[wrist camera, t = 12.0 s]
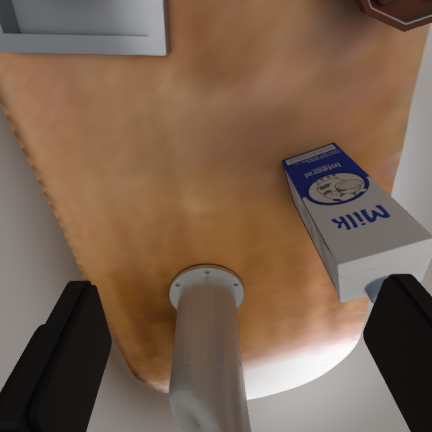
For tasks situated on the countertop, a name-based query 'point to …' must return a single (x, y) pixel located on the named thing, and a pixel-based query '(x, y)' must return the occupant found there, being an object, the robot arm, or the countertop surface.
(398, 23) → the ice cream bowl
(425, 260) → the milk carton
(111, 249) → the countertop surface
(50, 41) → the gray rectangular tray
